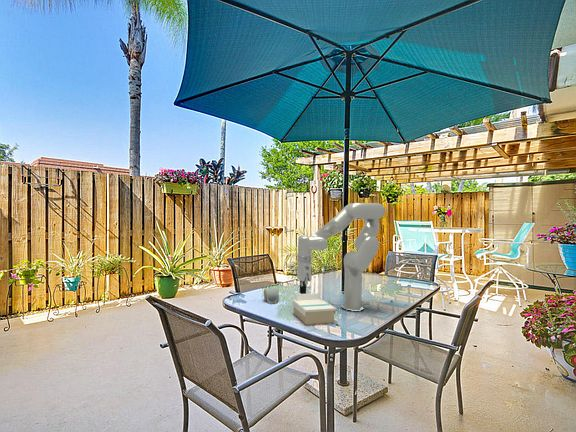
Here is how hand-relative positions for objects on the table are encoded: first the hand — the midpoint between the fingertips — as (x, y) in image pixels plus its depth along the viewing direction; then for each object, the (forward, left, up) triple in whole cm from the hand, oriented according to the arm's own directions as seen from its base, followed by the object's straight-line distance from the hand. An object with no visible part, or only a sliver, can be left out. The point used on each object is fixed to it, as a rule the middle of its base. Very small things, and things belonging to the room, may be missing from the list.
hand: (302, 293), depth 163 cm
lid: (0, +14, -5) cm, 15 cm away
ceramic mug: (+12, -20, -9) cm, 25 cm away
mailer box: (0, +14, -9) cm, 17 cm away
